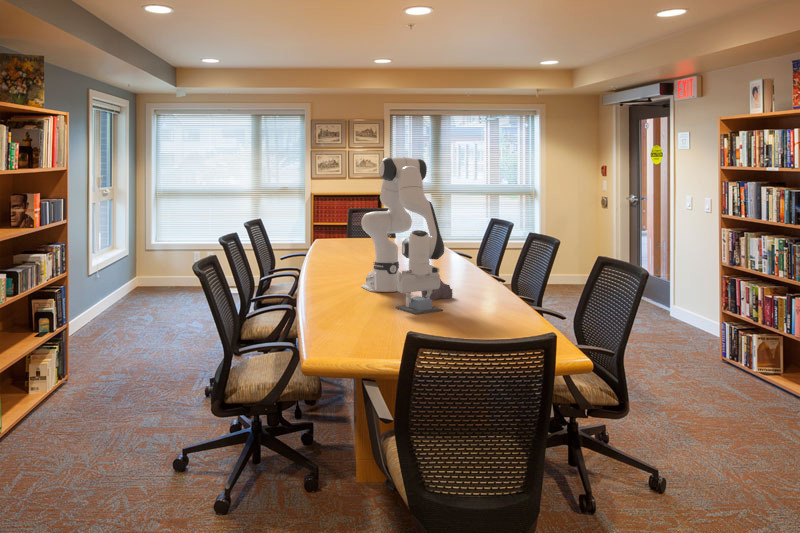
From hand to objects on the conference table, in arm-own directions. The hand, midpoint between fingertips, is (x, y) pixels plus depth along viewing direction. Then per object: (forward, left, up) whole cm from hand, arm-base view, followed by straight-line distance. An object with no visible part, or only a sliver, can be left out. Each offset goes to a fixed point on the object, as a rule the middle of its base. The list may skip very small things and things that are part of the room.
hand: (418, 301), depth 292 cm
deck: (0, 0, -3) cm, 3 cm away
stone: (-16, +21, -4) cm, 27 cm away
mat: (0, 0, -4) cm, 4 cm away
